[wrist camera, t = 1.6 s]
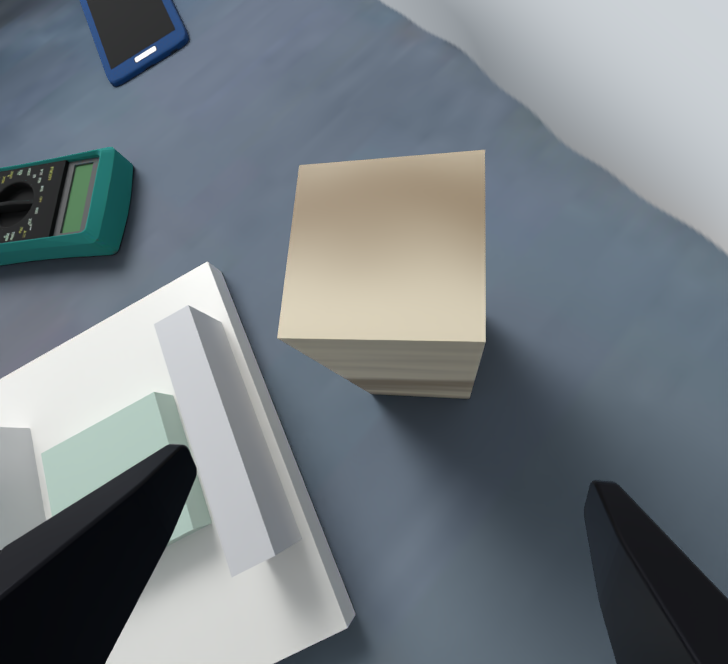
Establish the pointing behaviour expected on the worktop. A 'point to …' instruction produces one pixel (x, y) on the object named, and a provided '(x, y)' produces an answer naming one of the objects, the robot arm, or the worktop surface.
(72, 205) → the digital multimeter
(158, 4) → the cell phone
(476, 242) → the birch block
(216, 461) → the display stand
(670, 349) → the worktop surface
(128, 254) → the worktop surface
